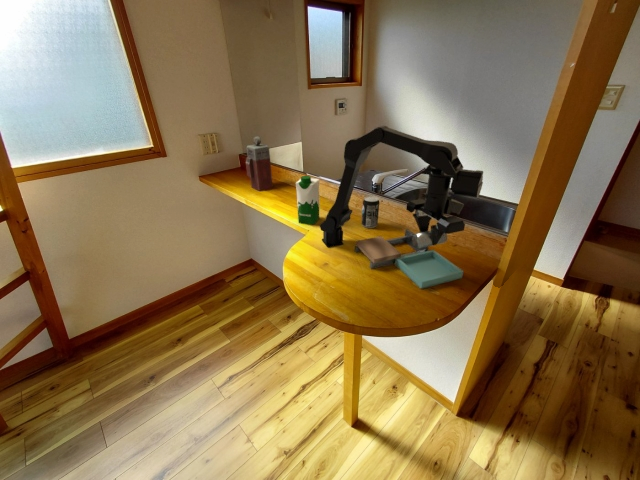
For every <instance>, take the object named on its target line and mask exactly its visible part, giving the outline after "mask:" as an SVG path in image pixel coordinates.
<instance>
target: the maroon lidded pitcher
mask: <svg viewBox="0 0 640 480" xmlns="http://www.w3.org/2000/svg"><path fill="white" fill-rule="evenodd" d="M252 139H253V144H250V145H249V144H248V145H247V146H246V155H247V157H245V168H246V175H247V177H249V178H250V185H251V188H252V189H253V190H255V191H257V192H264V191H267V190H270V189H271V190H272V189H273V186H274V185H273V176H272V166H271V156H270V155H271V154H270V153H271V152H270V146H269V145H266V144H262V142H261V141H262V140H261V137H260V136H253V138H252Z"/></svg>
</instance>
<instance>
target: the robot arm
mask: <svg viewBox="0 0 640 480" xmlns="http://www.w3.org/2000/svg"><path fill="white" fill-rule="evenodd" d="M380 143H381V144H384V145H387V146H390V147H393V148H396V149H398V150H401V151H404V152H407V153H409V154H412V155H415V156H416V157H418V158H420V159H421V160H422V161H423V162H424V163H425V164H427V167H426V168H424V169H423V170H421V172H420V174H421V175H427V176H428V178H427V179H428V180H427V186H426V190H425V191H426V192H423V193H422V196H421V197H422V198H419V199H413V200H409V201H408V202H407V204H406V211H407V212H409V213H413V214H412V217H414V221H415V223H416V224H417V227H418V230H419V233H420V232H425V231H429V227H430V230H431V237H432V244H433V245H432V246H437V245H438V244H437V243H438V241H439V240H440V238H441V237H442V235H443V234H444V233H446V234H447V235H449V234H454V233H458V232H464V231H465V227H466V222H465V221H464V219H461V218H459V217H457V216H455V215H451V213H455V214H456V215H460V213H461V211H462V210H463V208H464V206H465V204H464V203H462V202H460V201H459V200H456V199H453V198H452V194H449V192H450V191H451V193H453V195H454V196H455V195H456V196H461V197H467V198H471V199H478V198H479V197H480V194H481V191H482V189H483V184H484V182H483V180H484V179H483V178H484V177H483V176H484V170H479V169H477V170H472V169H464V165H463V164H462V163H463V162H461V160H460V158H459V156H458V154H459V152H458V148H457V146H456V145H455V144H454V143H452V142H447V141H442V140H428V139H427V140H426V139H424V138H423V139H422V138H420V137H417V136H414V135H411V134H408V133H405V132H401V131H399V130H396V129H393V128H390V127H388V126H387V125H382V126H381V125H380V126H377V127H375V128H374V129H373V130H371V131H369V132H368V133H365V134H364V135H362V136H359V137H354V138H352V139H349V140H348V141H347V142H346V143H345V145H344V151H343V159H344V164H345V165H344V168H343V173H342V176H341V180H340V182H339V183H340V184H339V187H338V191H337V193H336V197H335V201H334V204H333V205H332V206H331V207H330V208H329V211H328V212H327V214H326V215H325V216H326V217H325V219H324V221H323V222H322V223H320V224H319V228H320V231H323V232H322V233H323V234H322V235H323V238H322V239H321V241H322V243H323V244H324V245H325V247H327V248H332V247H337V246H342V245H344V242H343V241H344V231H343V228H342V227H343V226H344V225H345V223H347V222H348V221H350V220H351V216H352V213H353V209H350V206H349V204H350V201H351V199H352V198H351V197H352V194H353V191H354V188H355V184H356V182H357V178H358V176H359V175H358V174H359V172H360V169H361V167H362V165H363V164H364V162H365V161H366V160H367V158H368V156H369V155H370V153H371V151H372V149H373V148H374V147H376V146H377V145H379V144H380ZM445 215H451V216H445ZM432 219H433V220H435V221H437V222H436V224H432V225H430V223H431V220H432ZM436 244H437V245H436Z"/></svg>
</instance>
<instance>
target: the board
mask: <svg viewBox="0 0 640 480" xmlns="http://www.w3.org/2000/svg"><path fill="white" fill-rule="evenodd" d="M386 240H387V239H385V238H384V237H383V236H375V237H369V238H364V239H360V240H355V246H358V247H359V248H360V250H361V251H362V253H363V255H365V256H366V257H367V259H368V260H369V261H370V262H371V261H372V262H373V263H377V262H382V261H386V260H391V259H395V258H399V257H401V255H402V252H400V251H399V250H398V249H397V248H395V247H394V245H391V244H390V243H388V242H387V241H386Z"/></svg>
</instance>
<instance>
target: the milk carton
mask: <svg viewBox="0 0 640 480" xmlns="http://www.w3.org/2000/svg"><path fill="white" fill-rule="evenodd" d="M295 188H296V201H297V203H296V205H297V219H298V224H303V225H304V224H305V225H312V226H314V225H315V224H316V223H317V222H318V221H319V219H320V178H313V177H311V176H310V175H303V176H301V177H300V178H299V180H297V181H296V182H295Z"/></svg>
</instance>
